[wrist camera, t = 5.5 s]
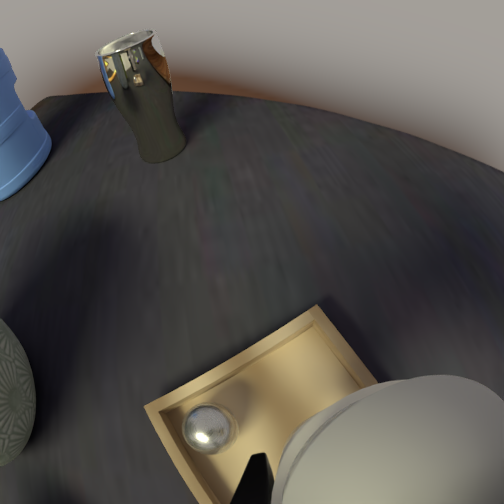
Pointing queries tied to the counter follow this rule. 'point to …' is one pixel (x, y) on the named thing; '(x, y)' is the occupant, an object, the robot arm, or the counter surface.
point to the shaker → (399, 447)
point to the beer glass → (143, 92)
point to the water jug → (18, 136)
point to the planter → (14, 396)
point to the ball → (210, 428)
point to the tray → (260, 400)
